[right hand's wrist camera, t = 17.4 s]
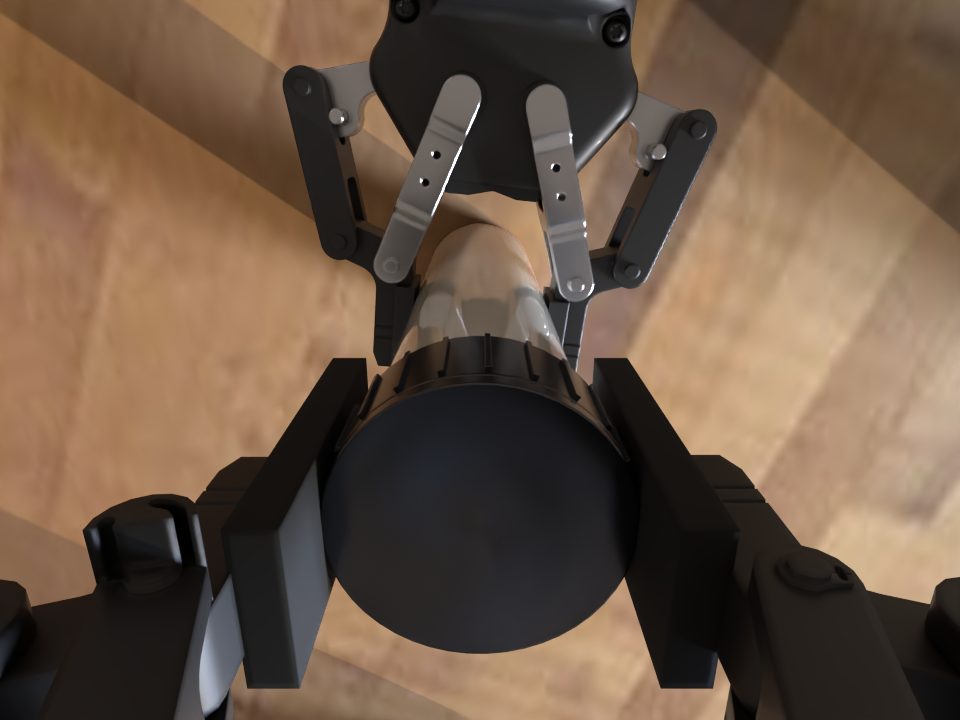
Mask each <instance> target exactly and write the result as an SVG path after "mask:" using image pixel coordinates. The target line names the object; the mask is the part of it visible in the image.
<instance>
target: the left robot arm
mask: <svg viewBox="0 0 960 720" xmlns="http://www.w3.org/2000/svg"><path fill="white" fill-rule="evenodd" d="M636 4H637V0H389V11H388V17H387V21H386V25H385V28H384V30H383V33H382V35H381V37H380V39H379V41H378V42H377V44H376V45H375V47H374V49H373V51H372V54H371V57H370V61H366V62H360V63H355V64H349V65H343V66H338V67H332V68H326V69H320V70H318V69H315V68H312V67H307V66H303V65H298V66H294V67H292V68H291V69H289V70H288V71H287V73H286V74H285V76H284V79H283V91H284V95H285V99H286V103H287V107H288V111H289V115H290V119H291V124H292V128H293V132H294V136H295V140H296V144H297V148H298V152H299V156H300V160H301V164H302V169H303V173H304V177H305V181H306V185H307V189H308V193H309V197H310V201H311V205H312V210H313V214H314V218H315V222H316V226H317V230H318V234H319V238H320V242H321V246H322V248H323V250H324V252H325V253H326V254H327V255H328V256H329V257H331V258H333V259H336V260H344V259H346V260H348V261H351V262H353V263H355V264H357V265H359V266H361V267H363V268H365V269H366V270H368V271H369V272H370V273H371V275H372V276H373V278H374V280H375V283H376V305H375V327H374V347H373V353H374V356H375V358H376V361H377V364H378V366H389V367H390V365H391V363H392V360H393V357H394V355H395V352H396V350H397V347H398V345H399V342H400V339H401V337H402V334H403V332H404V329H405V326H406V324H407V321H408V319H409V316H410V314H411V311H412V308H413V306H414V303H415V301H416V298H417V295H418V293H419V290H420V281H421V275H419V274H415V271H416V256H417V254H418V252H419V249H420V247H421V245H422V242H423V240H424V238H425V235H426V233H427V231H428V228H429V226H430V224H431V221H432V219H433V217H434V215H435V212H436V210H437V208H438V206H439V203H440V201H441V199H442V196H443V194H444V192H447V193H456V194H465V195H470V194H476V193H482V192H489V191H495V192H498V193H500V194H503V195H505V196H508V197H510V198H513V199H515V200H522V201H531V202H536V204H537V209H538V214H539V219H540V223H541V227H542V230H543V235H544V240H545V245H546V250H547V256H548V261H549V266H550V271H551V275H552V277H551V284H550V287H544V289H543V298H544V301H545V303H546V306H547V308H548V311H549V314H550V316H551V319H552V321H553V324H554V326H555V329H556V332H557V334H558V337H559V339H560V342H561V344H562V347H563V350H564V352H565V355H566V357H567V360H568V362H569V365H570V367H571V368H572V369H573V370H574V371H575V372H576V370H577V364H578V358H579V352H580V345H581V340H582V334H583V328H584V322H585V316H586V310H587V307H588V304H589V302H590V301H591V300H592V298H593V297H594V296H596V295H597V294H599V293H601V292H603V291H607V290H611V289H615V288H619V287H624V288H629V289H631V288H636V287H639V286H640V285H642V284H643V283H644V282H645V281H646V279H647V278H648V276H649V274H650V272H651V269H652V267H653V265H654V263H655V261H656V259H657V257H658V255H659V253H660V251H661V249H662V246H663V244H664V242H665V240H666V238H667V236H668V234H669V232H670V230H671V228H672V226H673V223H674V221H675V219H676V217H677V215H678V213H679V211H680V209H681V207H682V205H683V203H684V201H685V198H686V196H687V194H688V192H689V190H690V188H691V186H692V184H693V182H694V180H695V178H696V175H697V173H698V171H699V169H700V167H701V165H702V163H703V161H704V159H705V157H706V155H707V152H708V150H709V148H710V146H711V144H712V142H713V140H714V138H715V135H716V132H717V123H716V120H715V118H714V116H713V115H712V114H711V113H710V112H708V111H706V110H702V109H698V110H689V111H683V110H681V109H678V108H676V107H673V106H671V105H669V104H666V103H664V102H662V101H659V100H657V99H655V98H652V97H650V96H648V95H645V94H643V93H641V92H638V81H637V77H636V74H635V71H634V68H633V64H632V59H631V49H630V44H631V34H632V28H633V22H634V16H635V10H636ZM374 95H378V97H379V99H380V101H381V102H382V104H383V106H384V107H385V109H386V111H387V113H388V114H389V116H390V118H391V119H392V121H393V123H394V125H395V126H396V128H397V130H398V131H399V133H400V135H401V137H402V138H403V140H404V142H405V143H406V145H407V147H408V148H409V150H410V152H411V154H412V155H413V157H414V160H413V162H412V165H411V167H410V170H409V172H408V175H407V177H406V180H405V182H404V184H403V187H402V189H401V192H400V194H399V197H398V199H397V202H396V205H395V208H394V212H393V215H392V217H391V220H390V222H389V225H388V227H387V230H386V231H384V230H382V229H380V228H378V227H376V226H374V225H372V224H370V223H368V222H367V218H366V213H365V209H364V204H363V199H362V195H361V190H360V186H359V181H358V176H357V172H356V167H355V162H354V158H353V153H352V148H351V144H350V139H349V137H351V136H354V135H356V134H358V133H359V132H360V131H361V129H362V127H363V125H364V109H365V105H366V103H367V101H368V100H369V99H370V98H371V97H373V96H374ZM623 123H625V124H626V125H627V126H628V127H629V129H630V131H631V135H632V140H631V145H630V149H629V156H630V159H631V161H632V163H633V164H634V165H635V166H636V167H638V168H639V170H638V173H637V175H636V177H635V179H634V182H633V184H632V186H631V188H630V191H629V193H628V195H627V197H626V200H625V202H624V204H623V206H622V209H621V211H620V213H619V215H618V217H617V220H616V222H615V224H614V226H613V229H612V231H611V233H610V235H609V238H608V240H607V242H606V244H605V247H604V248H600V249H596V250H592V251H588V245H587V239H586V222H585V216H584V210H583V204H582V198H581V192H580V186H579V180H578V175H577V174H578V173H579V172H580V170H581V169H582V168H583V167H584V166H585V165H586V164H587V163H588V162H589V161H590V159H591V158H592V157H593V156H594V155H595V154H596V153H597V152H598V151H599V150H600V148H601V147H602V146H603V145H604V144H605V143H606V142H607V141H608V140H609V139H610V138H611V136H612V135H613V134H614V133H615V132H616V131H617V130H618V129H619V128H620V127H621V125H622V124H623Z"/></svg>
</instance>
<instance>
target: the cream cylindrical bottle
mask: <svg viewBox="0 0 960 720" xmlns="http://www.w3.org/2000/svg"><path fill="white" fill-rule="evenodd" d="M485 333H490V334H491V336H495V337H502V338H509V339H513V340H517V341H521V342H524V343H525V342H526V340H528V341H531V342H532V345H533V346H535V347H538V348H540V349H542V350H545V351H547V352H548V353H550V354H552V355H553V356H555V357H557V358H559V359H560V360H561V359H562V358H564V359H566V360H567V357H566V355H565V352H564V350H563V347H562V344H561V342H560V339H559V337H558V334H557V332H556V329H555V326H554V324H553V321H552V319H551V316H550V314H549V311H548V308H547V306H546V303H545V301H544V298H543V296H542V293H541V290H540V288H539V285H538V283H537V280H536V277H535V275H534V272H533V270H532V267H531V265H530V262H529V259H528V257H527V254H526V252H525V250H524V248H523V247H522V245H521V244H520V242H519V241H518V240H517V239H516V238H515V237H514V236H513V235H512V234H510V233H509V232H507V231H506V230H504V229H502V228H500V227H497V226H494V225H490V224H481V223H478V224H470V225H466V226H463V227H460V228H458V229H456V230H454V231H453V232H451V233H450V234H448V235H447V236H446V237H445V238H444V239H443V240H442V241H441V243H440V244H439V245H438V247H437V248H436V250H435V252H434V254H433V257H432V259H431V262H430V265H429V267H428V270H427V272H426V275H425V277H424V280H423V283H422V285H421V288H420V290H419V293H418V295H417V298H416V301H415V303H414V306H413V308H412V311H411V314H410V316H409V319H408V321H407V324H406V326H405V329H404V332H403V334H402V337H401V339H400V342H399V345H398V347H397V350H396V352H395V355H394V357H393V360H392V363H391V365H390V366H392V365H393V364H395V363H396V362H397V361H399V360H400V359H402V358H403V357H404V354H405V352H407V351H409V350H410V352H411V353H412V352H414V351H416V350H418V349H420V348H422V347H425V346H427V345H430V344H433V343H436V342H439V341H442V340H443V337H447V336H448V337H449V339H452V338H457V337H466V336H485ZM567 361H568V360H567ZM568 364H569V362H568ZM569 366H570V365H569Z"/></svg>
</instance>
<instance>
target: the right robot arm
mask: <svg viewBox="0 0 960 720" xmlns="http://www.w3.org/2000/svg"><path fill="white" fill-rule="evenodd" d="M593 386H594V387H595V389H596V391H597V393H598V396H599V398H600V400H601V402H602V404H603V407H604V409H605V411H606V413H607V415H608V416H611V418H612V420H613V422H614V425H615V427H616V429H617V431H618V433H619V435H620V438H621V440H622V442H623V444H624V446H625V448H626V451H627V453H628V455H629V457H630V459H631V462H632V465H630V466H629V468H630V471H631V474H632V476H633V479H634V482H635V485H636V488H637V494H638V499H639V505H640V519H639V529H638V538H637V546H636V549H635V553H634V556H633V559H632V561H631V564H630V566H629V568H628V570H627V572H626V575H625V576H624V577H625V580H626V583H627V586H628V589H629V592H630V595H631V598H632V601H633V604H634V608H635V611H636V614H637V617H638V620H639V623H640V626H641V629H642V632H643V635H644V638H645V641H646V644H647V647H648V650H649V654H650V657H651V660H652V663H653V666H654V669H655V672H656V675H657V678H658V681H659V684H660V687H661V688H673V689H713V685H714V680H715V674H716V668H717V662H718V658H719V660H720V662H721V664H722V666H723V669H724V671H725V673H726V675H727V677H728V680H729V682H730V684H731V685H730V690H729V695H728V701H727V706H726V712H725V717H724V720H960V577H957V578H949V579H945V580H943V581H942V582H941V583H940V584H938V585H937V586H936V588H935V591H934V594H933V597H932V600H931V604H926V603H921V602H916V601H911V600H906V599H902V598H897V597H892V596H887V595H883V594H879V593H875V592H871V591H868V590H866V589H865V586H864V584H863V583H862V581H861V580H860V579H859V577H858V576H857V575H856V573H855V572H854V571H853V570H852V569H851V568H849V567H848V566H847V565H845V564H844V563H842V562H841V561H840V560H838V559H837V558H835V557H833V556H830V555H828V554H826V553H824V552H822V551H819V550H817V549H813V548H809V547H805V546H801V545H800V543H799V542H798V541H797V539H796V538H795V537H794V536H793V534H792V533H791V532H790V530H789V529H788V528H787V527H786V525H785V524H784V523H783V522H782V520H781V519H780V518H779V516H778V515H777V514H776V513H775V511H774V510H773V509H772V507H771V506H770V505H769V504H768V503H766V502H765V498H764V497H763V496H762V495H761V493H760V492H759V491H758V489H755V486H754V484H753V483H752V482H751V481H750V479H749V478H748V477H747V475H746V474H745V473H744V472H743V470H742V469H741V468H739V467H737V466H736V465H734V464H733V463H731V462H730V461H728V460H727V459H725V458H723V457H722V456H720V455H690V453H689V451H688V450H687V448H686V447H685V445H684V444H683V442H682V441H681V439H680V438H679V436H678V435H677V433H676V432H675V430H674V429H673V427H672V426H671V424H670V423H669V421H668V419H667V418H666V416H665V415H664V413H663V412H662V410H661V409H660V407H659V406H658V404H657V403H656V401H655V400H654V398H653V397H652V395H651V394H650V392H649V391H648V389H647V387H646V386H645V384H644V383H643V381H642V380H641V378H640V377H639V375H638V374H637V372H636V371H635V369H634V368H633V366H632V365H631V363H630V362H629V360H628V359H627V358H594V371H593ZM367 391H368V380H367V365H366V358H333V359H332V361H331V362H330V364H329V365H328V367H327V368H326V370H325V371H324V373H323V374H322V376H321V377H320V379H319V380H318V382H317V384H316V385H315V387H314V388H313V390H312V391H311V393H310V394H309V396H308V397H307V399H306V400H305V402H304V403H303V405H302V406H301V408H300V409H299V411H298V412H297V414H296V416H295V417H294V419H293V420H292V422H291V423H290V425H289V426H288V428H287V429H286V431H285V432H284V434H283V435H282V437H281V438H280V440H279V441H278V443H277V444H276V446H275V448H274V449H273V451H272V452H271V454H270V455H269V457H240V458H239V459H237V460H236V461H234V462H233V463H231V464H229V465H228V466H226V467H225V468H223V469H222V470H220V471H219V472H218V473H217V475H216V476H215V477H214V478H213V480H212V481H211V482H210V484H209V485H208V486H207V487H206V491H203V493H202V494H201V495H200V496H199V498H198V499H197V500H196V504H195V503H194V502H193V501H191V500H190V499H189V498H188V497H184V496H179V495H175V494H155V495H148V496H144V497H139V498H135V499H131V500H128V501H126V502H123V503H121V504H118V505H115V506H113V507H110V508H109V509H107V510H106V511H104V512H103V513H101V514H99V515H98V516H96V517H95V518H93V519H92V520H91V522H90V523H89V524H88V525H87V526H86V527H85V528H84V529H83V534H84V538H85V542H86V546H87V549H88V553H89V557H90V561H91V564H92V568H93V572H94V576H95V580H96V583H97V585H96V587H95V590H94V592H93V593H92V594H88V595H84V596H81V597H76V598H72V599H67V600H62V601H57V602H52V603H48V604H43V605H38V606H33V607H31V605H30V602H29V599H28V596H27V592H26V589H25V588H23V587H22V586H21V585H20V584H18V583H17V582H15V581H7V580H0V720H233V718H234V708H233V701H232V695H231V690H230V686H231V684H232V682H233V679H234V677H235V675H236V673H237V670H238V668H239V666H240V664H241V662H242V660H243V666H244V672H245V677H246V683H247V689H300V685H301V682H302V679H303V676H304V673H305V670H306V667H307V664H308V661H309V658H310V655H311V652H312V649H313V646H314V642H315V639H316V636H317V633H318V630H319V627H320V624H321V621H322V618H323V615H324V612H325V609H326V606H327V603H328V599H329V596H330V593H331V590H332V587H333V584H334V581H335V578H336V576H335V574H334V572H333V571H332V568H331V566H330V563H329V561H328V558H327V556H326V553H325V549H324V544H323V535H322V525H321V515H320V509H321V498H322V494H323V490H324V486H325V482H326V479H327V477H328V474H329V472H330V469H331V467H332V464H333V462H334V460H335V458H336V456H337V453H336V452H334V451H333V450H334V448H335V446H336V443H337V441H338V439H339V437H340V435H341V433H342V431H343V428H344V426H345V424H346V422H347V420H348V418H349V415H350V413H351V411H352V409H353V407H354V405H355V404H357V405H359V404H360V403H361V401H362V399H363V398H364V396H365V394H366V393H367Z"/></svg>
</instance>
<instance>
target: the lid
mask: <svg viewBox="0 0 960 720" xmlns="http://www.w3.org/2000/svg"><path fill="white" fill-rule="evenodd" d="M333 451H334V452H336V453H337V456H336V458H335V460H334V462H333V464H332V467H331V469H330V472H329V474H328V477H327V479H326V482H325V486H324V490H323V494H322V498H321V509H320V515H321V525H322V535H323V544H324V549H325V553H326V556H327V558H328V561H329V563H330V566H331V568H332V571H333V572H334V574H335V576H336V578H337V579H338V581H339V583H340V584H341V586H342V587H343V589H344V590H345V591H346V592H347V594H348V595H349V596H350V598H351V599H352V600H353V601H354V602H355V603H356V604H357V605H358V606H359V607H360V608H361V609H362V610H363V611H364V612H365V613H366V614H368V615H369V616H370V617H371V618H373V619H374V620H375V621H377V622H378V623H379V624H381V625H382V626H384V627H386V628H387V629H389V630H391V631H392V632H394V633H396V634H398V635H400V636H402V637H404V638H407V639H409V640H411V641H414V642H416V643H419V644H422V645H425V646H428V647H432V648H436V649H441V650H445V651H451V652H459V653H471V654H489V653H501V652H509V651H514V650H519V649H525V648H528V647H531V646H535V645H538V644H541V643H544V642H546V641H549V640H551V639H553V638H556V637H558V636H560V635H562V634H564V633H566V632H568V631H569V630H571V629H573V628H575V627H576V626H578V625H579V624H581V623H582V622H583V621H585V620H586V619H588V618H589V617H590V616H591V615H593V614H594V613H595V612H596V611H597V610H598V609H599V608H600V607H601V606H602V605H603V604H604V603H605V602H606V601H607V600H608V599H609V598H610V596H611V595H612V594H613V593H614V592H615V590H616V589H617V587H618V586H619V584H620V583H621V581H622V580H623V578H624V576H625V575H626V572H627V570H628V568H629V566H630V564H631V561H632V559H633V556H634V553H635V549H636V546H637V538H638V529H639V519H640V505H639V499H638V494H637V488H636V485H635V482H634V479H633V476H632V474H631V471H630V468H629V466H630V465H632V462H631V459H630V457H629V455H628V453H627V451H626V448H625V446H624V444H623V442H622V440H621V438H620V435H619V433H618V431H617V429H616V427H615V425H614V422H613V420H612V418H611V416H608V415H607V413H606V411H605V409H604V407H603V404H602V402H601V400H600V398H599V396H598V393H597V391H596V389H595V387H594V386H593V385H592V384H591V385H589V386H588V384H587V383H586V382H585V381H584V380H583V379H582V378H581V377H580V376H579V375H578V374H577V373H576V372H575V371H574V370H573V369H572V368H571V367H570V366H569V364H568V361H567V360H566V359H564V358H562V359H561V360H560V359H559V358H557V357H555V356H553V355H552V354H550V353H548V352H547V351H545V350H542V349H540V348H538V347H535V346H533V345H532V342H531V341H528V340H526V342H525V343H524V342H521V341H517V340H513V339H509V338H502V337H495V336H491V334H490V333H485V336H466V337H457V338H452V339H449V337H448V336H447V337H443V340H442V341H439V342H436V343H433V344H430V345H427V346H425V347H422V348H420V349H418V350H416V351H414V352H412V353H411V352H410V350H409V351H407V352H405V354H404V357H403V358H402V359H400V360H399V361H397V362H396V363H395V364H393V365H392V366H390V367H389V368H388V369H387V370H386V371H385V372H384V373H383V374H382V375H381V376H380V375H379V374H377V375H376V376H375V377H374V378H373V381H372V383H371V385H370V388H369V390H368V391H367V393H366V394H365V396H364V398H363V399H362V401H361V403H360V404H359V405H357V404H355V405H354V407H353V409H352V411H351V413H350V415H349V418H348V420H347V422H346V424H345V426H344V428H343V431H342V433H341V435H340V437H339V439H338V441H337V443H336V446H335V448H334V450H333Z"/></svg>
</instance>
